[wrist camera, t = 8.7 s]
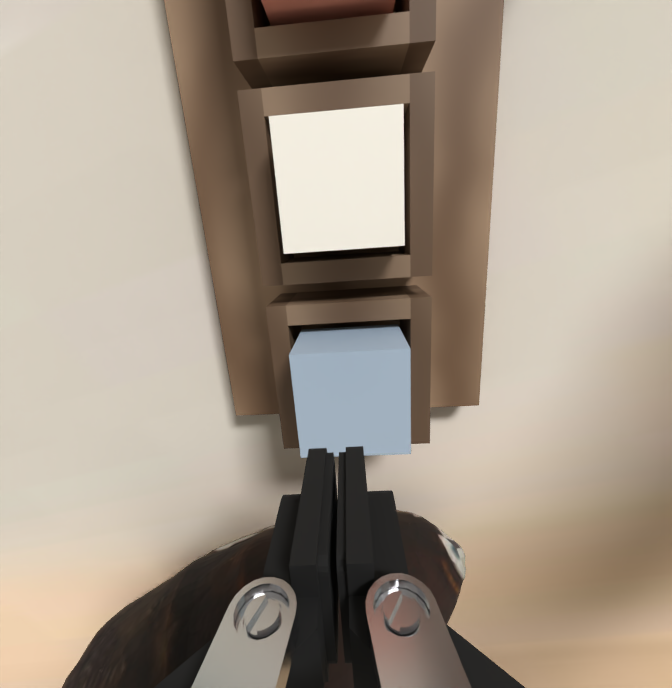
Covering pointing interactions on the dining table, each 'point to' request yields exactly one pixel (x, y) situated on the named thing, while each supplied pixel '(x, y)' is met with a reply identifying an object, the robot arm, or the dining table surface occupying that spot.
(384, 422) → the slate key
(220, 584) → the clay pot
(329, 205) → the ivory key
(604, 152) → the dining table surface
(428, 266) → the keypad
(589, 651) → the dining table surface
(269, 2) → the brick key
